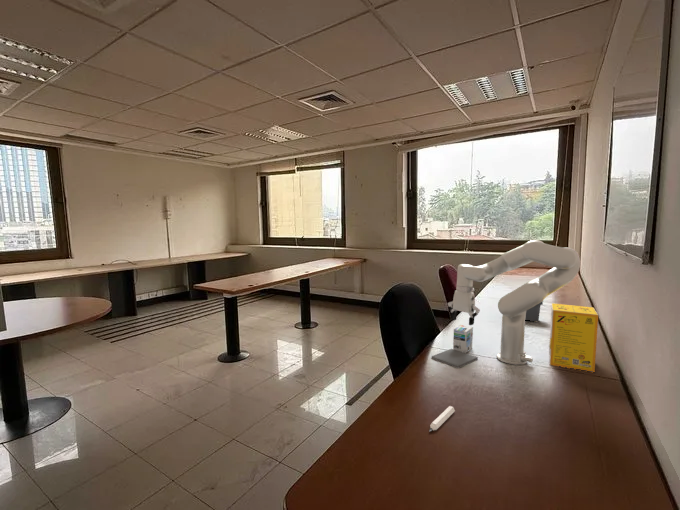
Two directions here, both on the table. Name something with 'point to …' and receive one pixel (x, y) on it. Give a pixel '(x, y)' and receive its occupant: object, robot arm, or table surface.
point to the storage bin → (533, 312)
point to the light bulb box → (463, 338)
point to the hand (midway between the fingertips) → (462, 322)
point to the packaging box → (573, 336)
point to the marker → (442, 418)
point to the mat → (454, 358)
